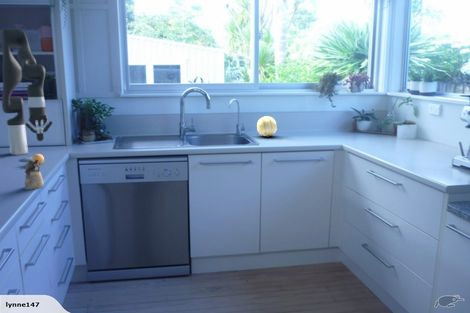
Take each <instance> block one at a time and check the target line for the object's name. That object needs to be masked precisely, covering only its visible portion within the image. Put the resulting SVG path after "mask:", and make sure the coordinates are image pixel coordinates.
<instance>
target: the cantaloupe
mask: <svg viewBox="0 0 470 313" xmlns="http://www.w3.org/2000/svg"><path fill="white" fill-rule="evenodd" d="M277 124H278V123H277V122H276V120H275V119H274V118H273V117H271V116H266V115H263V117H261V118H259V119H258V121H257V124H256V129H257V133H258V134H260V135H261V136H263V137H265V138H266V137H271V136H273V135H274V134H275V133H276V132H277V129H278V125H277Z"/></svg>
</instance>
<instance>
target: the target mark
mask: <svg viewBox="0 0 470 313" xmlns="http://www.w3.org/2000/svg"><path fill="white" fill-rule="evenodd" d="M32 158H33V156H27V157H23V158H21V159H19V161H20V162H22V163H23V162H24V163H25V162H26V163H27V162H28V161H29V160H31V159H32Z"/></svg>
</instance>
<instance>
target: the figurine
mask: <svg viewBox="0 0 470 313" xmlns="http://www.w3.org/2000/svg"><path fill="white" fill-rule="evenodd" d="M38 161H39V160H38V159H36V160H35V161H34V160H32V159H31V160H29V161H28V162H26V163H25V166H24V168H23V169H24V170H25V171H24V173H25V180H24V182H25V183H24V188H25V189H26V190H36V189H40V188H43V187H44V178H43V176H42V173H41V171H40V170H41V166H40V165H41V164H38ZM36 167H37V168H36Z"/></svg>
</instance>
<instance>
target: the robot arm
mask: <svg viewBox="0 0 470 313" xmlns="http://www.w3.org/2000/svg"><path fill="white" fill-rule="evenodd" d="M1 48H2V49H1V50H2V96H1V97H2V99H1V100H2V101H1V109H2V112H4V113H5V114H16V115H15V116H14V117H12V118H9V119H8V120H6V125H7V132H8V134H7V135H8V145H9V152H10V155H12V156H13V155H14V156H19V155H26V154H28V153H29V149H28V139H27V130H26V128H27V129H29V130H30V132H32V133H34V134H36V140H37V141H38V142H42V141H43V140H44V133H46V132H47V131H48V130H49V129H50V127H51V126H52V124H53V122H52V121H51V120H49V119H48V117H47V110H46V101H45V96H44V95H45V94H44V83H45V77H46V69H45V67H44V66H43V65H42V64H37V61H36V59H35V56H34V55H33V54H32V52H31V51H32V50H31V47H30V44H29V40H28V38H27V34H26V32H25V31H24V30H23V29H21V28H3V29H2V30H1ZM11 48H19V49H18V52H17V59H18V60H17V59H16V58H15V57H14V55H13V54H12V52H11ZM22 78H24V79H25V80H36V82H35V83H32V84H31V83H30V84H29V85H27V87H26V90H27V106H28V113H29V114H28V115H29V118H28V121H27V122H26V120H25V106H24V104H25V103H24V99H23V98H22V97H21V96H12V93H13V91H15V89H16V88H17V86H18V85H19V84H20V82H21V81H22ZM31 125H32V126H33V127H34V128H33V127H32V126H31Z"/></svg>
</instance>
